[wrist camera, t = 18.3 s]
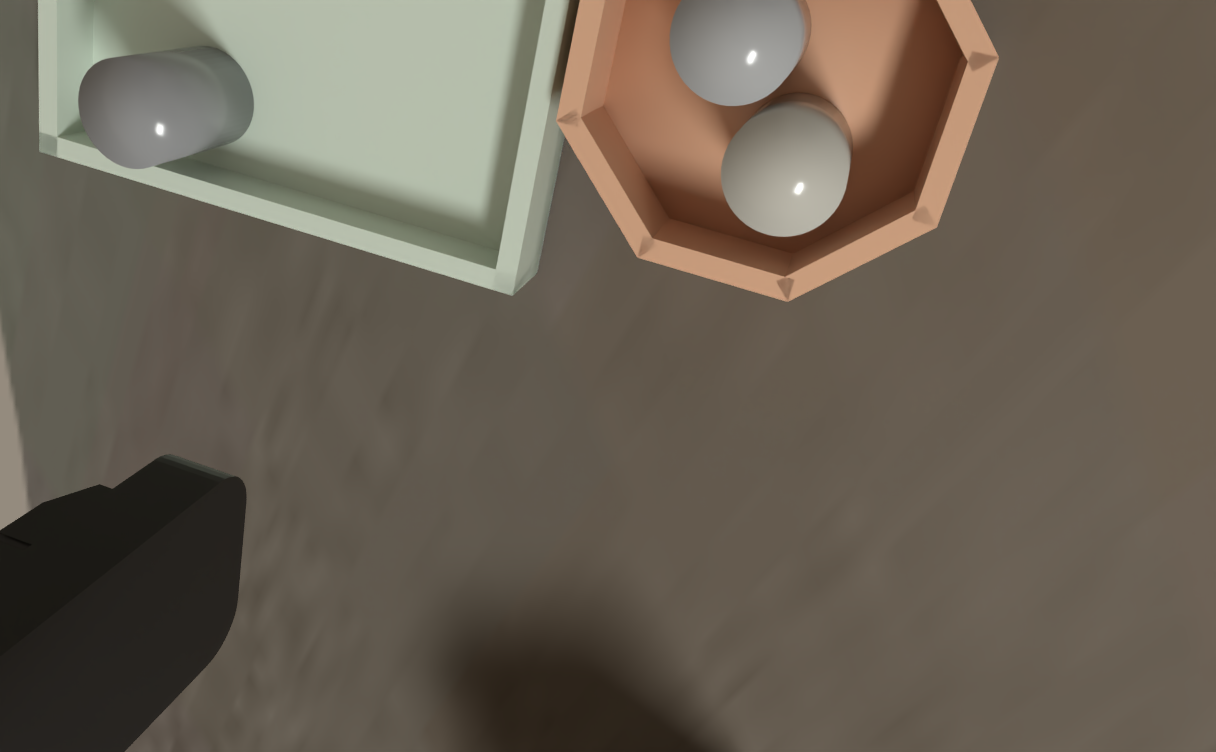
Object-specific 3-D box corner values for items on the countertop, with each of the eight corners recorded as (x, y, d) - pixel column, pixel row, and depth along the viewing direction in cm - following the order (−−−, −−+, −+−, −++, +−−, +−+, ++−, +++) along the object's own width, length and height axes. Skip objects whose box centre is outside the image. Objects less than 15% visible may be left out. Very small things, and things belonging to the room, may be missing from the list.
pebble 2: (711, -43, 35) (684, -43, 30) (824, -20, 34) (814, -16, 30) (687, 73, 36) (657, 90, 32) (794, 98, 36) (780, 118, 31)
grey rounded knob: (168, 34, 40) (78, 44, 36) (257, 59, 40) (177, 73, 35) (164, 131, 42) (77, 152, 38) (250, 156, 42) (172, 181, 37)
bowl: (643, -166, 35) (615, -180, 31) (1031, -75, 33) (1048, -78, 29) (567, 202, 40) (535, 227, 36) (897, 298, 38) (897, 333, 35)
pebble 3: (755, 81, 36) (736, 98, 31) (866, 106, 35) (863, 126, 31) (730, 189, 37) (708, 220, 33) (836, 214, 37) (828, 249, 32)
